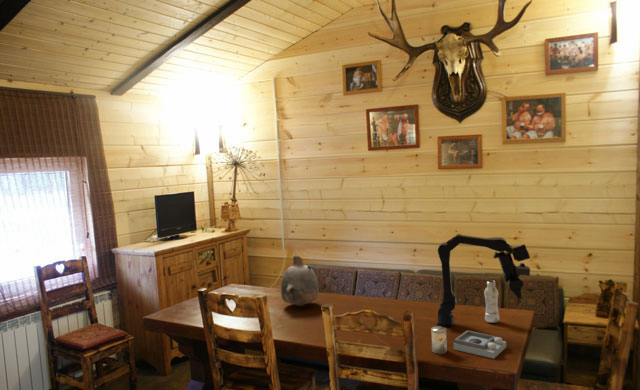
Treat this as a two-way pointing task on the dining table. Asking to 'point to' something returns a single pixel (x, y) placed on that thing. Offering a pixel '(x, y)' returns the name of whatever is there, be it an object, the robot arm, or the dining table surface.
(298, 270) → the jug
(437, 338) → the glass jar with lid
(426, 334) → the dining table surface
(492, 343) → the square tray with knobs
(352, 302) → the dining table surface
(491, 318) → the plastic bottle
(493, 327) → the dining table surface
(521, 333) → the dining table surface
